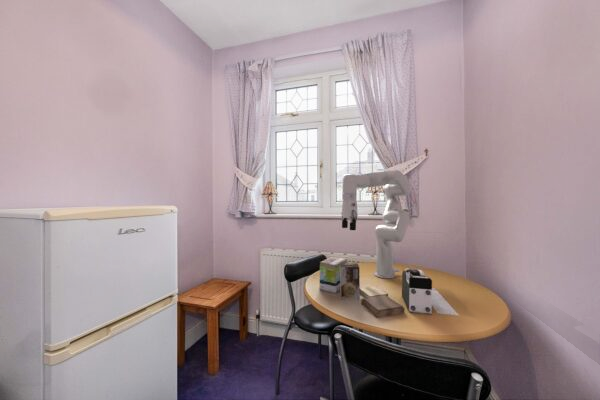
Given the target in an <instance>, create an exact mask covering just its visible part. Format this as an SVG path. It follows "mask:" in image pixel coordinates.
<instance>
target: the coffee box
mask: <svg viewBox="0 0 600 400" xmlns="http://www.w3.org/2000/svg"><path fill="white" fill-rule="evenodd" d="M360 282H361V281H360V265H359V263H355V262H351V263H350V262H347V263H340V289H339V291H340V292H339V294H340V300H341V301H343V300H344V301H345V300H348V301H353V300H354V301H361V294H360V288H361V286H360V284H361V283H360Z"/></svg>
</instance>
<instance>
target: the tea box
mask: <svg viewBox="0 0 600 400" xmlns="http://www.w3.org/2000/svg"><path fill="white" fill-rule="evenodd" d="M340 263H348V259H347V258H342V257H335V256H330V257H328V258H326V259H324V260H322V261H319V287H318V288H319V290H323V291H326V292H330V293H337V292H338V291H340Z"/></svg>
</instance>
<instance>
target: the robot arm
mask: <svg viewBox="0 0 600 400" xmlns="http://www.w3.org/2000/svg"><path fill="white" fill-rule="evenodd" d="M382 186H384V190H383V191H384V194H385V196H386V201H387V204H386V206H385V209H384V212H383V215H382V222H383V224H378V225H377V226H376V227H375V229H374V236H375V241H376V243H375V244H376V270H375V271H374V272H373V274H374V276H375V277H377V278H380V279H393V278H396V274H395V273H396V272H397V273H399V272H400V268H395V267H394V264H393V263H394V260H393V259H394V258H393V257H394V256H393V255H394V254H393V253H394V247H393V244H392V242H393V243H401V242H402V241H403V240H404V239H405V236H406V234H407V230H408V227H409V223H410V214H409V212H408V211H406V210H403V209H401V207H402V202H401V200H400V199H399V198H398V196H402V197H403V196H406V197H407V196H408V195H410V194H411V193H412V190H413V189H412V185H411V182H410V181H409V180H408V179H407V177H406V176H405V175H404V174H403V172H402V171H400V170H395V169H394V170H384V171H383V170H382V171H376V172H369V173H364V174H362V173H361V174H353V173H346V174H344V175H343V177H342V197H341V198H342V199H341V200H342V206H341V214H340V215H341V228H342V229H348V225H349V230H350V231H356V228H357V219H358V216H359V215H358V201H357V200H358V199H357V197H358V196H357V195H358V194H357V193H358V192H357V191H358V189H361V190H362V189H366V188H375V187H376V188H377V187H382ZM348 219H349V221H350V222H348Z"/></svg>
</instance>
